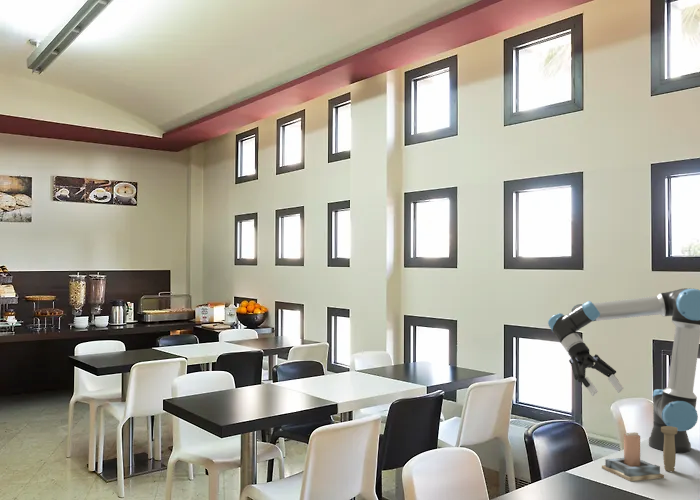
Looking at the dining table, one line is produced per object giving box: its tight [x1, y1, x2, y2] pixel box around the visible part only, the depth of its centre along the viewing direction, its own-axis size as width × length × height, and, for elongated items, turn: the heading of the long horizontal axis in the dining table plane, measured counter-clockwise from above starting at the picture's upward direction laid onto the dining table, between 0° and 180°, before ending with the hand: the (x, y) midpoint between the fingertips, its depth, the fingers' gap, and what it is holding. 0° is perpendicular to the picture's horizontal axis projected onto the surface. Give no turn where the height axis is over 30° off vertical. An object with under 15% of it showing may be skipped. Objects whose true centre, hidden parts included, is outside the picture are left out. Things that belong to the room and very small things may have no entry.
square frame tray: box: [601, 457, 665, 482], centre depth 213 cm, size 14×14×4 cm
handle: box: [661, 426, 678, 473], centre depth 216 cm, size 5×6×15 cm
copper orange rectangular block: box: [623, 431, 641, 467], centre depth 213 cm, size 5×5×13 cm
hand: (608, 392), depth 227 cm, fingers open, 13 cm apart
